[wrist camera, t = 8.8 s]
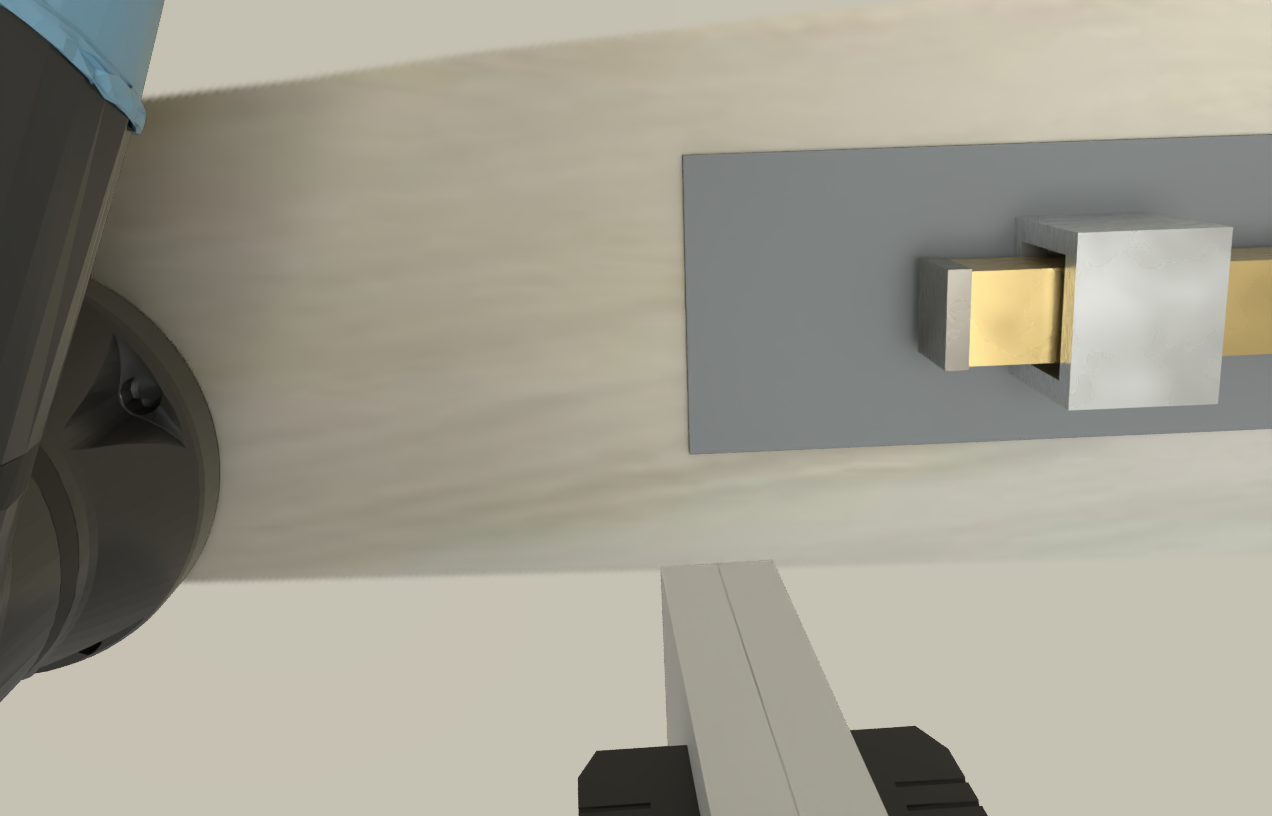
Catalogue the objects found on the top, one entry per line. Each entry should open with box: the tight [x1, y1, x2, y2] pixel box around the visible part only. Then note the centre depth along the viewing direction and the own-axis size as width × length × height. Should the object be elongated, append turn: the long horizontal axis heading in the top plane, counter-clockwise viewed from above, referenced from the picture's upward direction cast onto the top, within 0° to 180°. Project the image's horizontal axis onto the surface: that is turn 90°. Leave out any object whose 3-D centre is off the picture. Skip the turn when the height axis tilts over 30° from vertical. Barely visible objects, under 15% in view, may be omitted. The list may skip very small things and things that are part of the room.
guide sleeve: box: [1009, 212, 1233, 411], centre depth 42 cm, size 5×6×6 cm
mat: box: [682, 134, 1272, 455], centre depth 45 cm, size 29×11×1 cm, turn 92°
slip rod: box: [918, 247, 1272, 371], centre depth 42 cm, size 16×3×3 cm, turn 92°
